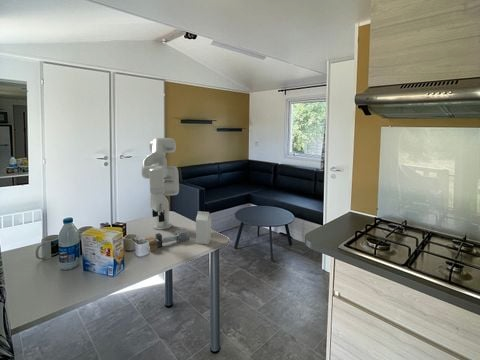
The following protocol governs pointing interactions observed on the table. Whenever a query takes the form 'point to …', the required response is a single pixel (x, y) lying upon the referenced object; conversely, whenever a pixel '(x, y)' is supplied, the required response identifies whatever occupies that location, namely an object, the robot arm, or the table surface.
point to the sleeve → (182, 235)
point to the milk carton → (203, 227)
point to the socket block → (152, 243)
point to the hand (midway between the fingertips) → (158, 219)
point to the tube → (164, 239)
